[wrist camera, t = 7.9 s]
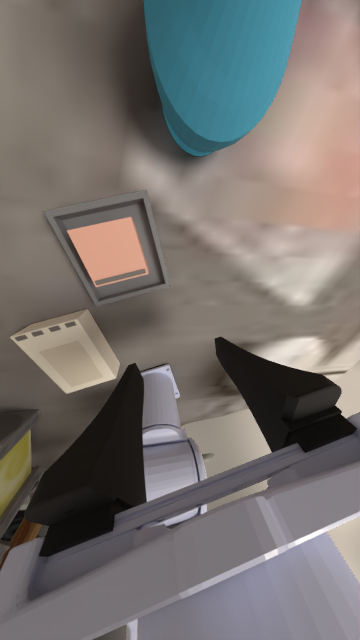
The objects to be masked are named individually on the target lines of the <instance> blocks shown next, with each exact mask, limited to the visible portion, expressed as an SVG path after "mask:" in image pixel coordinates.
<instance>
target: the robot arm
mask: <svg viewBox="0 0 360 640" xmlns="http://www.w3.org/2000/svg"><path fill="white" fill-rule="evenodd" d="M215 346H216V355H217V357H218V359H219V361H220V363H221V365H222V366H223V368H224V369H225V371H226V372H227V374H228V375H229V377H230V378H231V379H232V381H233V382H234V384H235V385H236V387H237V388H238V390H239V391H240V393H241V395H242V396H243V398H244V400H245V402H246V403H247V405H248V407H249V409H250V411H251V412H252V414H253V416H254V418H255V420H256V422H257V424H258V426H259V428H260V429H261V431H262V433H263V435H264V437H265V439H266V441H267V443H268V445H269V447H270V449H271V451H272V453H270V454H268V455H265V456H263V457H260V458H258V459H255V460H252V461H250V462H247V463H245V464H242V465H240V466H237V467H235V468H232V469H230V470H227V471H225V472H222V473H220V474H217V475H214V476H212V477H209V478H207V475H206V470H205V465H204V461H203V457H202V454H201V451H200V449H199V447H198V445H197V444H196V443H195V441H194V440H193V439H192V438H187V435H186V430H185V429H181V425H180V420H179V414H178V409H177V403H176V398H178V397H180V394H179V391H178V388H177V386H176V383H175V380H174V377H173V374H172V371H171V369H170V366H169V365H168V364H166V365H163V366H160V367H156V368H153V369H150V370H147V371H144V372H141V373H140V371H139V369H138V367H137V365H136V363H134V364H131V365H128V367H127V369H126V371H125V372H124V374H123V376H122V378H121V380H120V381H119V383H118V385H117V386H116V388H115V390H114V391H113V393H112V395H111V396H110V398H109V399H108V401H107V402H106V404H105V405H104V407H103V408H102V409H101V411H100V412H99V413H98V415H97V416H96V417H95V419H94V420H93V421H92V422H91V423H90V425H89V426H88V427H87V428H86V430H85V431H84V432H83V433H82V434H81V435H80V437H79V438H78V439H77V440H76V441H75V442H74V443H73V444H72V445H71V446H70V447H69V449H68V450H67V451H66V452H65V453H64V454H63V455H62V456H61V457H60V458H59V459H58V460H57V461H56V462H55V463H54V464H53V465H52V466H51V467H50V468H49V469H48V470H47V471H46V472H45V473H44V474H43V475H42V477H41V479H40V482H39V484H38V486H37V488H36V490H35V492H34V494H33V496H32V498H31V500H30V503H29V505H28V507H27V509H26V511H25V514H24V517H25V519H26V520H27V521H30V522H33V523H37V524H42V525H47V526H49V528H48V531H47V534H46V537H40V538H37V539H34V540H31V541H29V542H26V543H24V544H21V545H18V546H16V547H13V548H12V549H11V550H10V552H9V554H8V556H7V558H6V560H5V562H4V565H3V567H2V569H1V571H0V640H92V639H94V638H97V637H99V636H101V635H103V634H105V633H108V632H110V631H112V630H114V629H116V628H118V627H121V626H123V625H125V624H127V633H126V640H360V584H359V582H358V580H357V579H356V577H355V575H354V574H353V572H352V571H351V569H350V568H349V566H348V564H347V563H346V561H345V560H344V558H343V557H342V555H341V553H340V552H339V550H338V549H337V547H336V545H335V544H334V542H333V541H332V539H331V538H330V537H329V535H328V534H327V531H329V530H331V529H333V528H335V527H337V526H339V525H341V524H343V523H346V522H348V521H350V520H352V519H354V518H356V517H359V516H360V412H359V413H357V414H354V415H352V416H350V417H348V418H347V419H346V418H344V417H343V416H342V415H341V413H342V411H341V410H340V409H339V408H337V407H336V406H335V404H336V402H337V401H338V399H339V397H340V395H341V388H340V387H339V386H338V385H336V384H335V383H334V382H332V381H331V380H329V379H328V378H326V377H325V376H323V375H322V374H317V373H312V372H307V371H303V370H299V369H295V368H291V367H287V366H284V365H281V364H278V363H275V362H272V361H269V360H266V359H264V358H261V357H259V356H256V355H254V354H252V353H250V352H248V351H246V350H244V349H242V348H240V347H238V346H236V345H234V344H233V343H231V342H229V341H228V340H226V339H224V338H222V337H218V338H215ZM271 477H272V478H271ZM269 478H270V479H269ZM266 479H269V480H268V481H267V484H268V486H269V487H268V488H267V489H266V490H264V491H261V492H258V493H254V494H251V495H249V496H246V497H243V498H240V499H237V500H235V501H232V502H229V503H227V504H224V505H222V506H219V507H217V508H215V509H212V510H210V511H208V512H207V504H208V503H210V502H213V501H215V500H217V499H220V498H222V497H225V496H227V495H230V494H232V493H235V492H237V491H239V490H242V489H244V488H247V487H249V486H251V485H254V484H256V483H259V482H261V481H264V480H266Z"/></svg>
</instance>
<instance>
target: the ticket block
mask: <svg viewBox="0 0 360 640" xmlns="http://www.w3.org/2000/svg"><path fill="white" fill-rule="evenodd" d="M10 338H11V339H12V340H13V341H14V342H15V343H16V344H17V345H18V346H19V347H20V348H21V349H22V350H23V351H24V352H25V353H26V354H27V355H28V356H29V357H30V358H31V359H32V360H33V361H34V362H35V363H36V364H37V365H38V366H39V367H40V368H41V369H42V370H43V371H44V372H45V373H46V374H47V375H48V376H49V377H50V378H51V379H52V380H53V381H54V382H55V383H56V384H57V385H58V386H59V387H60V388H61V389H62V390H63V391H64V392H65V393H66V394H68V393H71V392H74V391H77V390H81V389H84V388H87V387H90V386H93V385H96V384H100V383H103V382H106V381H109V380H112V379H116V377H117V373H118V369H119V365H120V363H119V361H118V359H117V358H116V356H115V354H114V353H113V351H112V349H111V348H110V346H109V344H108V343H107V341H106V339H105V337H104V336H103V334H102V332H101V331H100V329H99V327H98V326H97V324H96V322H95V320H94V319H93V317H92V315H91V314H90V312H89V310H88V309H86V310H82V311H78V312H74V313H71V314H67V315H63V316H60V317H56V318H52V319H48V320H45V321H41V322H37V323H34V324H31V325H29V326H27V327H26V328H24V329H22V330H21V331H19V332H18V333H16V334H14V335H13V336H11V337H10Z"/></svg>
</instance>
